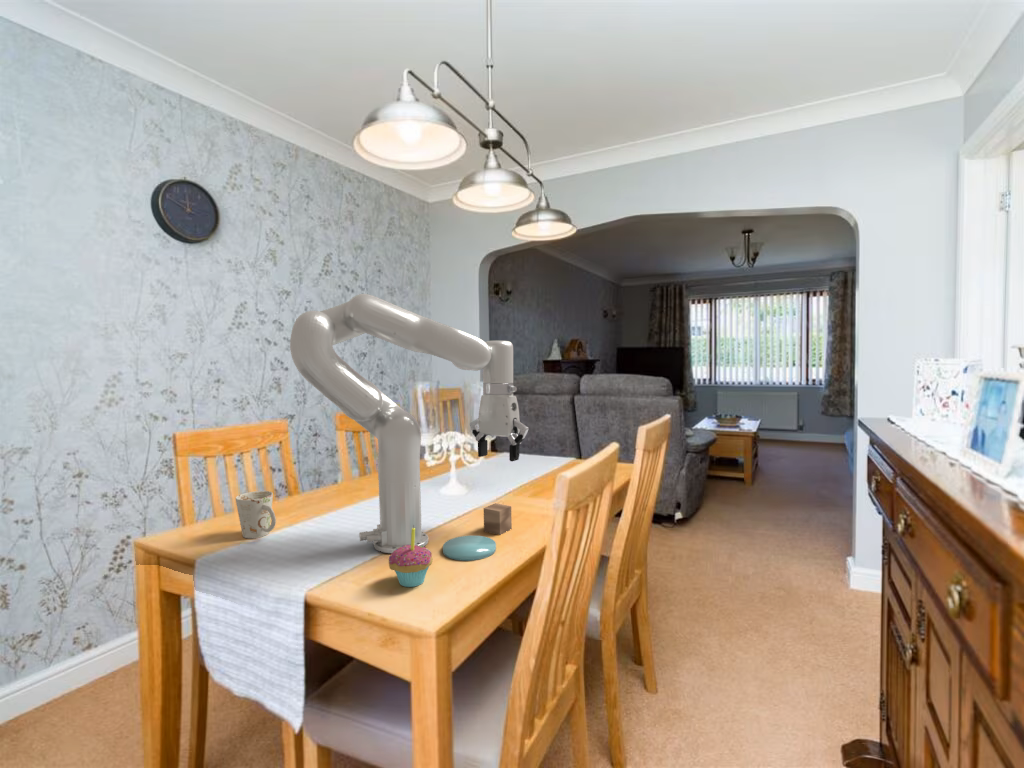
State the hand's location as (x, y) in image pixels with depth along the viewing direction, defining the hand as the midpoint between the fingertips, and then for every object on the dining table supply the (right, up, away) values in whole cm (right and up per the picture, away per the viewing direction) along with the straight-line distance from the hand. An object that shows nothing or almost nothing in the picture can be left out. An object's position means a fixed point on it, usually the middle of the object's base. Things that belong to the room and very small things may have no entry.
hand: (498, 458), depth 129 cm
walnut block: (0, -18, +1) cm, 18 cm away
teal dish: (-6, -19, -12) cm, 23 cm away
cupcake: (-16, -21, -28) cm, 38 cm away
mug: (-59, -20, 0) cm, 62 cm away
